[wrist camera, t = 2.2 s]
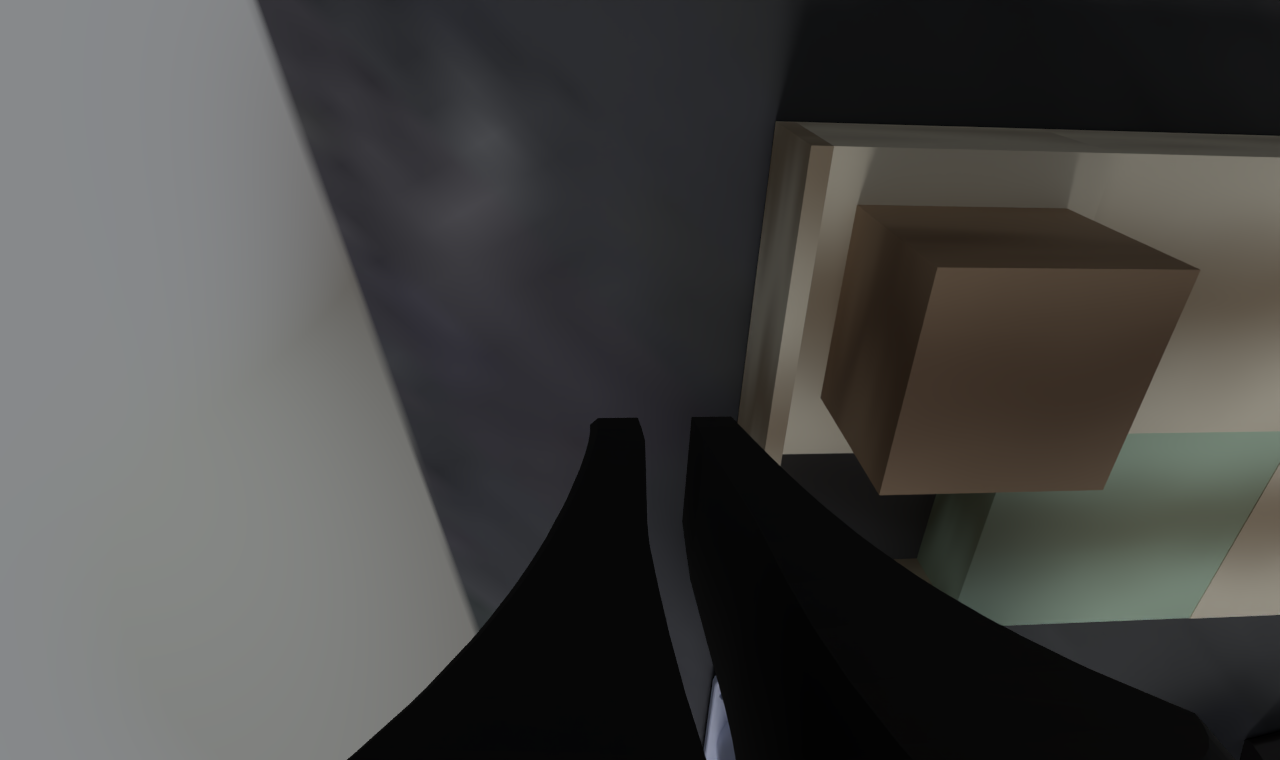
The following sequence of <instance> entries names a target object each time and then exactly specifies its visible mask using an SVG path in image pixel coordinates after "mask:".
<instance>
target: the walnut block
mask: <svg viewBox="0 0 1280 760" xmlns="http://www.w3.org/2000/svg"><path fill="white" fill-rule="evenodd" d="M1200 271H1201V270H1200V269H1198V268H1196V267H1194V266H1191V265H1189V264H1187V263H1185V262H1183V261H1181V260H1178V259H1176V258H1174V257H1172V256H1170V255H1167V254H1165V253H1163V252H1161V251H1159V250H1157V249H1154V248H1152V247H1150V246H1148V245H1146V244H1143V243H1141V242H1139V241H1137V240H1135V239H1133V238H1130V237H1128V236H1126V235H1124V234H1122V233H1120V232H1117V231H1115V230H1113V229H1111V228H1109V227H1106V226H1104V225H1102V224H1100V223H1098V222H1096V221H1093V220H1091V219H1089V218H1087V217H1085V216H1082V215H1080V214H1078V213H1076V212H1074V211H1072V210H1069V209H1067V208H1014V207H957V206H900V205H857V207H856V213H855V218H854V223H853V228H852V234H851V239H850V244H849V250H848V255H847V260H846V265H845V271H844V276H843V281H842V286H841V292H840V297H839V302H838V308H837V313H836V318H835V323H834V329H833V334H832V339H831V344H830V350H829V355H828V360H827V366H826V371H825V376H824V381H823V387H822V392H821V397H820V398H821V400H822V401H823V403H824V405H825V406H826V408H827V410H828V411H829V413H830V415H831V416H832V418H833V419H834V421H835V423H836V424H837V426H838V428H839V429H840V431H841V433H842V434H843V436H844V438H845V439H846V441H847V443H848V444H849V446H850V448H851V449H852V451H853V453H854V454H855V456H856V458H857V459H858V461H859V463H860V464H861V466H862V468H863V469H864V471H865V473H866V474H867V476H868V478H869V479H870V481H871V482H872V484H873V486H874V487H875V489H876V491H877V492H878V494H879V495H913V494H956V493H999V492H1043V491H1086V490H1103V489H1104V487H1105V484H1106V482H1107V480H1108V478H1109V475H1110V473H1111V471H1112V469H1113V466H1114V464H1115V462H1116V460H1117V457H1118V455H1119V453H1120V451H1121V448H1122V446H1123V444H1124V442H1125V439H1126V437H1127V435H1128V433H1129V430H1130V428H1131V426H1132V424H1133V421H1134V419H1135V417H1136V415H1137V412H1138V410H1139V408H1140V406H1141V403H1142V401H1143V399H1144V397H1145V394H1146V392H1147V390H1148V388H1149V385H1150V383H1151V381H1152V379H1153V376H1154V374H1155V372H1156V370H1157V367H1158V365H1159V363H1160V361H1161V358H1162V356H1163V354H1164V352H1165V349H1166V347H1167V345H1168V343H1169V340H1170V338H1171V336H1172V334H1173V331H1174V329H1175V327H1176V325H1177V322H1178V320H1179V318H1180V316H1181V313H1182V311H1183V309H1184V307H1185V304H1186V302H1187V300H1188V298H1189V295H1190V293H1191V291H1192V289H1193V286H1194V284H1195V282H1196V280H1197V277H1198V275H1199V273H1200Z"/></svg>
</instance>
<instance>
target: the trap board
mask: <svg viewBox="0 0 1280 760" xmlns="http://www.w3.org/2000/svg"><path fill="white" fill-rule="evenodd" d="M857 205H900V206H957V207H1014V208H1067V209H1069V210H1072V211H1074V212H1076V213H1078V214H1080V215H1082V216H1085V217H1087V218H1089V219H1091V220H1093V221H1096V222H1098V223H1100V224H1102V225H1104V226H1106V227H1109V228H1111V229H1113V230H1115V231H1117V232H1120V233H1122V234H1124V235H1126V236H1128V237H1130V238H1133V239H1135V240H1137V241H1139V242H1141V243H1143V244H1146V245H1148V246H1150V247H1152V248H1154V249H1157V250H1159V251H1161V252H1163V253H1165V254H1167V255H1170V256H1172V257H1174V258H1176V259H1178V260H1181V261H1183V262H1185V263H1187V264H1189V265H1191V266H1194V267H1196V268H1198V269H1200V270H1201V271H1200V273H1199V275H1198V277H1197V280H1196V282H1195V284H1194V286H1193V289H1192V291H1191V293H1190V295H1189V298H1188V300H1187V302H1186V304H1185V307H1184V309H1183V311H1182V313H1181V316H1180V318H1179V320H1178V322H1177V325H1176V327H1175V329H1174V331H1173V334H1172V336H1171V338H1170V340H1169V343H1168V345H1167V347H1166V349H1165V352H1164V354H1163V356H1162V358H1161V361H1160V363H1159V365H1158V367H1157V370H1156V372H1155V374H1154V376H1153V379H1152V381H1151V383H1150V385H1149V388H1148V390H1147V392H1146V394H1145V397H1144V399H1143V401H1142V403H1141V406H1140V408H1139V410H1138V412H1137V415H1136V417H1135V419H1134V421H1133V424H1132V426H1131V428H1130V430H1129V433H1128V435H1127V437H1126V439H1125V442H1124V444H1123V446H1122V448H1121V451H1120V453H1119V455H1118V457H1117V460H1116V462H1115V464H1114V466H1113V469H1112V471H1111V473H1110V475H1109V478H1108V480H1107V482H1106V484H1105V487H1104V489H1103V490H1086V491H1043V492H999V493H956V494H913V495H879V494H878V492H877V491H876V489H875V487H874V486H873V484H872V482H871V481H870V479H869V478H868V476H867V474H866V473H865V471H864V469H863V468H862V466H861V464H860V463H859V461H858V459H857V458H856V456H855V454H854V453H853V451H852V449H851V448H850V446H849V444H848V443H847V441H846V439H845V438H844V436H843V434H842V433H841V431H840V429H839V428H838V426H837V424H836V423H835V421H834V419H833V418H832V416H831V415H830V413H829V411H828V410H827V408H826V406H825V405H824V403H823V401H822V400H821V398H820V397H821V392H822V387H823V381H824V376H825V371H826V366H827V360H828V355H829V350H830V344H831V339H832V334H833V329H834V323H835V318H836V313H837V308H838V302H839V297H840V292H841V286H842V281H843V276H844V271H845V265H846V260H847V255H848V250H849V244H850V239H851V234H852V228H853V223H854V218H855V213H856V207H857ZM738 424H739V425H740V426H741V427H742V428H743V429H744V430H745V431H746V432H747V433H748V434H749V435H750V436H751V437H752V438H753V439H754V440H755V441H756V442H757V443H758V444H759V445H760V446H761V447H762V448H763V449H764V450H765V451H766V452H767V453H768V454H769V455H770V456H771V457H772V458H773V459H774V460H775V461H776V462H777V463H778V464H779V465H780V466H781V467H782V468H783V469H784V470H785V471H786V472H787V473H788V474H789V475H790V476H791V477H792V478H793V479H794V480H796V481H797V482H798V483H799V484H800V485H801V486H802V487H803V488H804V489H805V490H806V491H808V492H809V493H810V494H811V495H812V496H813V497H814V498H815V499H817V500H818V501H819V502H820V503H821V504H822V505H823V506H825V507H826V508H827V509H828V510H829V511H831V512H832V513H833V514H834V515H836V516H837V517H838V518H839V519H840V520H842V521H843V522H844V523H845V524H847V525H848V526H849V527H850V528H851V529H853V530H854V531H855V532H856V533H858V534H859V535H860V536H862V537H863V538H864V539H866V540H867V541H868V542H870V543H871V544H872V545H874V546H875V547H876V548H878V549H879V550H881V551H882V552H884V553H885V554H886V555H888V556H889V557H891V558H892V559H894V560H895V561H897V562H898V563H899V564H901V565H902V566H904V567H905V568H907V569H908V570H909V571H911V572H912V573H914V574H915V575H917V576H918V577H920V578H922V579H923V580H925V581H926V582H928V583H929V584H931V585H933V586H934V587H936V588H937V589H939V590H941V591H942V592H944V593H946V594H947V595H949V596H951V597H953V598H954V599H956V600H958V601H959V602H961V603H963V604H965V605H966V606H968V607H970V608H971V609H973V610H975V611H977V612H978V613H980V614H982V615H983V616H985V617H987V618H989V619H991V620H992V621H994V622H996V623H998V624H1000V625H1002V626H1007V625H1031V624H1054V623H1078V622H1102V621H1126V620H1149V619H1173V618H1214V617H1238V616H1261V615H1280V136H1269V135H1235V134H1200V133H1166V132H1131V131H1097V130H1062V129H1027V128H993V127H958V126H924V125H889V124H854V123H820V122H785V121H776V124H775V131H774V139H773V147H772V155H771V163H770V171H769V179H768V187H767V194H766V202H765V210H764V218H763V226H762V234H761V242H760V250H759V257H758V265H757V273H756V281H755V289H754V297H753V305H752V313H751V320H750V328H749V336H748V344H747V352H746V360H745V368H744V375H743V383H742V391H741V399H740V407H739V415H738Z"/></svg>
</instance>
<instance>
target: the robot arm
mask: <svg viewBox="0 0 1280 760" xmlns="http://www.w3.org/2000/svg"><path fill="white" fill-rule="evenodd" d="M682 523H683V530H684V538H685V545H686V553H687V560H688V567H689V573H690V580H691V583H692V587H693V591H694V595H695V599H696V603H697V606H698V610H699V614H700V618H701V621H702V625H703V629H704V633H705V636H706V640H707V644H708V647H709V651H710V655H711V658H712V662H713V666H714V669H715V673H716V676H715V677H714V679H713V683H712V691H711V698H710V706H709V713H708V720H707V728H706V735H705V742H704V750H703V747H702V744H701V741H700V738H699V735H698V732H697V728H696V725H695V722H694V719H693V716H692V713H691V709H690V706H689V703H688V700H687V697H686V694H685V690H684V686H683V683H682V679H681V675H680V672H679V668H678V664H677V661H676V657H675V653H674V650H673V646H672V642H671V638H670V635H669V631H668V626H667V622H666V618H665V614H664V609H663V605H662V601H661V597H660V592H659V588H658V583H657V578H656V574H655V569H654V564H653V559H652V554H651V550H650V545H649V536H648V526H647V499H646V461H645V439H644V436H643V432H642V428H641V426H640V423H639V420H638V418H598V419H597V420H595V421H594V422H593V423H592V424H591V425H590V437H589V442H588V446H587V449H586V453H585V456H584V459H583V462H582V464H581V467H580V470H579V472H578V475H577V477H576V479H575V481H574V484H573V486H572V488H571V491H570V493H569V495H568V498H567V500H566V502H565V504H564V506H563V508H562V509H561V511H560V513H559V515H558V517H557V519H556V520H555V522H554V524H553V526H552V528H551V530H550V532H549V533H548V535H547V537H546V539H545V540H544V542H543V544H542V545H541V547H540V549H539V550H538V552H537V553H536V555H535V557H534V558H533V560H532V561H531V563H530V564H529V566H528V567H527V569H526V570H525V572H524V573H523V575H522V576H521V577H520V579H519V580H518V582H517V583H516V585H515V586H514V587H513V589H512V590H511V591H510V593H509V594H508V595H507V596H506V598H505V599H504V600H503V602H502V603H501V604H500V606H499V607H498V608H497V609H496V611H495V612H494V613H493V615H492V616H491V617H490V618H489V620H488V621H487V622H486V623H485V624H484V626H483V627H482V628H481V629H480V630H479V632H478V633H477V634H476V635H475V636H474V637H473V639H472V640H471V641H470V642H469V643H468V644H467V645H466V646H465V647H464V648H463V649H462V650H461V652H460V653H459V654H458V655H457V656H456V657H455V658H454V659H453V660H452V661H451V662H450V663H449V664H448V665H447V666H446V667H445V669H444V670H443V671H442V672H441V673H440V674H439V675H438V676H437V677H436V678H435V679H434V680H433V681H432V682H431V683H430V684H429V685H428V687H427V688H426V689H425V690H424V691H423V692H421V693H420V694H419V695H418V697H416V698H415V699H414V700H413V701H412V702H411V703H410V704H409V705H408V706H407V707H406V708H405V709H403V710H402V712H400V713H399V714H398V715H397V716H396V717H395V718H393V719H392V720H391V721H390V722H389V723H388V724H387V725H386V726H385V727H383V728H382V729H381V730H380V731H379V732H378V733H377V734H376V735H374V736H373V737H372V738H371V739H370V740H369V741H368V742H367V743H366V744H364V745H363V746H362V747H361V748H360V749H359V750H358V751H357V752H355V753H354V754H353V755H352V756H351V757H350V758H348V759H347V760H1235V759H1234V758H1233V757H1232V755H1231V754H1230V753H1229V752H1228V751H1227V750H1226V748H1225V747H1224V746H1223V745H1222V744H1221V743H1220V741H1219V740H1218V739H1217V738H1216V737H1215V736H1214V734H1213V733H1212V732H1211V731H1210V730H1209V729H1208V727H1207V726H1206V725H1205V724H1204V723H1203V722H1202V721H1201V720H1200V719H1199V717H1198V716H1197V715H1196V714H1195V713H1192V712H1190V711H1188V710H1185V709H1183V708H1181V707H1178V706H1176V705H1174V704H1171V703H1169V702H1166V701H1164V700H1162V699H1159V698H1157V697H1155V696H1152V695H1150V694H1148V693H1145V692H1143V691H1140V690H1138V689H1136V688H1133V687H1131V686H1129V685H1126V684H1124V683H1121V682H1119V681H1117V680H1114V679H1112V678H1110V677H1107V676H1105V675H1103V674H1100V673H1098V672H1095V671H1093V670H1091V669H1089V668H1086V667H1084V666H1082V665H1080V664H1078V663H1076V662H1074V661H1071V660H1069V659H1067V658H1065V657H1063V656H1061V655H1059V654H1057V653H1055V652H1053V651H1051V650H1049V649H1047V648H1045V647H1043V646H1041V645H1039V644H1037V643H1035V642H1033V641H1031V640H1029V639H1027V638H1025V637H1023V636H1021V635H1019V634H1017V633H1015V632H1013V631H1011V630H1009V629H1008V628H1006V627H1004V626H1002V625H1000V624H998V623H996V622H994V621H992V620H991V619H989V618H987V617H985V616H983V615H982V614H980V613H978V612H977V611H975V610H973V609H971V608H970V607H968V606H966V605H965V604H963V603H961V602H959V601H958V600H956V599H954V598H953V597H951V596H949V595H947V594H946V593H944V592H942V591H941V590H939V589H937V588H936V587H934V586H933V585H931V584H929V583H928V582H926V581H925V580H923V579H922V578H920V577H918V576H917V575H915V574H914V573H912V572H911V571H909V570H908V569H907V568H905V567H904V566H902V565H901V564H899V563H898V562H897V561H895V560H894V559H892V558H891V557H889V556H888V555H886V554H885V553H884V552H882V551H881V550H879V549H878V548H876V547H875V546H874V545H872V544H871V543H870V542H868V541H867V540H866V539H864V538H863V537H862V536H860V535H859V534H858V533H856V532H855V531H854V530H853V529H851V528H850V527H849V526H848V525H847V524H845V523H844V522H843V521H842V520H840V519H839V518H838V517H837V516H836V515H834V514H833V513H832V512H831V511H829V510H828V509H827V508H826V507H825V506H823V505H822V504H821V503H820V502H819V501H818V500H817V499H815V498H814V497H813V496H812V495H811V494H810V493H809V492H808V491H806V490H805V489H804V488H803V487H802V486H801V485H800V484H799V483H798V482H797V481H796V480H794V479H793V478H792V477H791V476H790V475H789V474H788V473H787V472H786V471H785V470H784V469H783V468H782V467H781V466H780V465H779V464H778V463H777V462H776V461H775V460H774V459H773V458H772V457H771V456H770V455H769V454H768V453H767V452H766V451H765V450H764V449H763V448H762V447H761V446H760V445H759V444H758V443H757V442H756V441H755V440H754V439H753V438H752V437H751V436H750V435H749V434H748V433H747V432H746V431H745V430H744V429H743V428H742V427H741V426H740V425H739V424H738V423H737V422H736V421H735V420H734V419H733V418H732V417H692V420H691V431H690V442H689V453H688V464H687V475H686V486H685V498H684V509H683V520H682Z"/></svg>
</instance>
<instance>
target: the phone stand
mask: <svg viewBox="0 0 1280 760" xmlns="http://www.w3.org/2000/svg"><path fill="white" fill-rule="evenodd" d="M1240 760H1280V732H1277V733H1273V734H1269V735H1264V736H1260V737H1256V738H1252V739H1248V740H1245V741H1244V745H1243V749H1242V753H1241V757H1240Z"/></svg>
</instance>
